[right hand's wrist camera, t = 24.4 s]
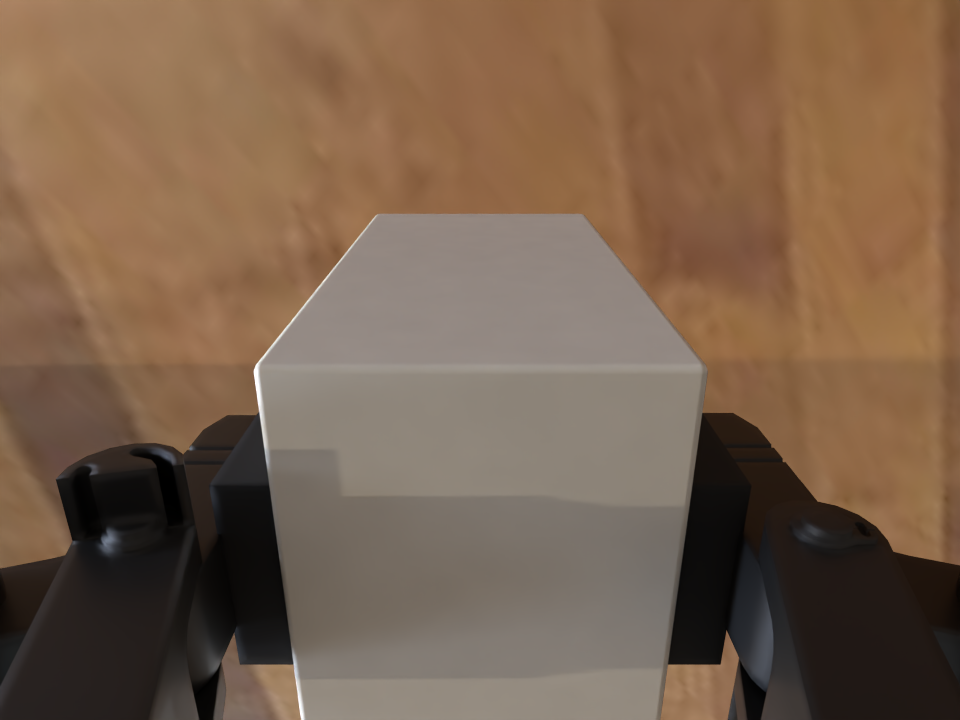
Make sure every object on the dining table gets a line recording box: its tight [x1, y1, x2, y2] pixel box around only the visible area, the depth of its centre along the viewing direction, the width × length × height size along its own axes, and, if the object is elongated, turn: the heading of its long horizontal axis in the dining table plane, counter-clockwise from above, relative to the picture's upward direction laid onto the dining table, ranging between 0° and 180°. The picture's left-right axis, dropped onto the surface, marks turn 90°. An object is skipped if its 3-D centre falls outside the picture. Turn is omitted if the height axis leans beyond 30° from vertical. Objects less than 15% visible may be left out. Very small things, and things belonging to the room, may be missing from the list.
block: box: [254, 214, 708, 720], centre depth 12 cm, size 5×6×9 cm
